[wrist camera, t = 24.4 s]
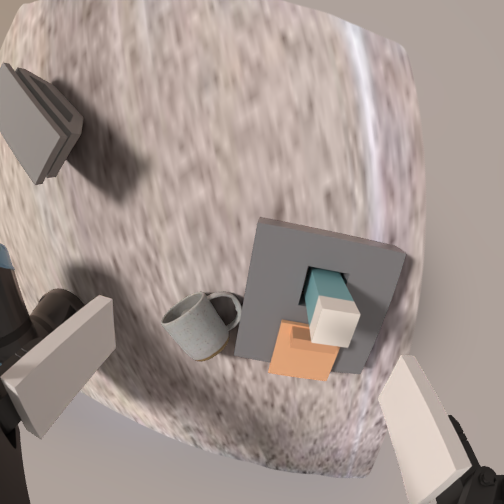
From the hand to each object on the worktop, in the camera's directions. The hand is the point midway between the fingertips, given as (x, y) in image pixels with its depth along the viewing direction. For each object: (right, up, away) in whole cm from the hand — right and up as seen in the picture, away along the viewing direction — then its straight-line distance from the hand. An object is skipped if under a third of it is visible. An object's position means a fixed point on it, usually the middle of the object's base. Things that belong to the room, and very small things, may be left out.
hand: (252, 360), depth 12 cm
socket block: (+9, -2, +30) cm, 31 cm away
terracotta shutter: (+8, -10, +27) cm, 30 cm away
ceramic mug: (-7, -5, +32) cm, 33 cm away
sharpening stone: (-34, +28, +26) cm, 51 cm away
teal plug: (+10, +1, +29) cm, 30 cm away
